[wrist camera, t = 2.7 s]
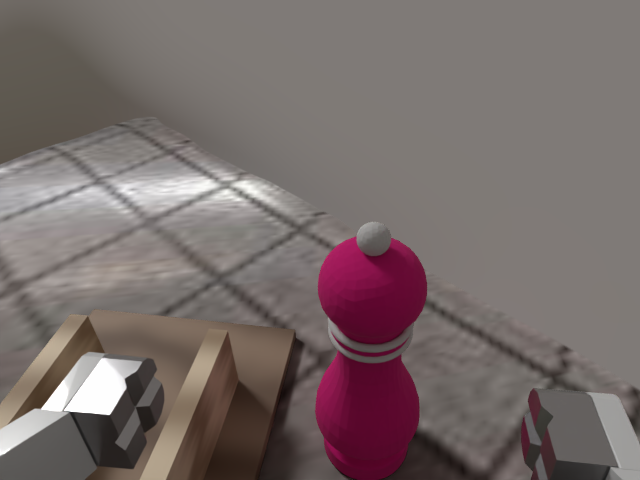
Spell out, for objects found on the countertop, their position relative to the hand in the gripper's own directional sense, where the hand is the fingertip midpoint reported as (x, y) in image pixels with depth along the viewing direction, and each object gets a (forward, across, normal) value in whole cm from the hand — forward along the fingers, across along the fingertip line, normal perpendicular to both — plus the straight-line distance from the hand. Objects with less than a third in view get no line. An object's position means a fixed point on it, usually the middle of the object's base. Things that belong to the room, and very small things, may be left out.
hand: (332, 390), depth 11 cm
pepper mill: (+16, 0, +24) cm, 29 cm away
